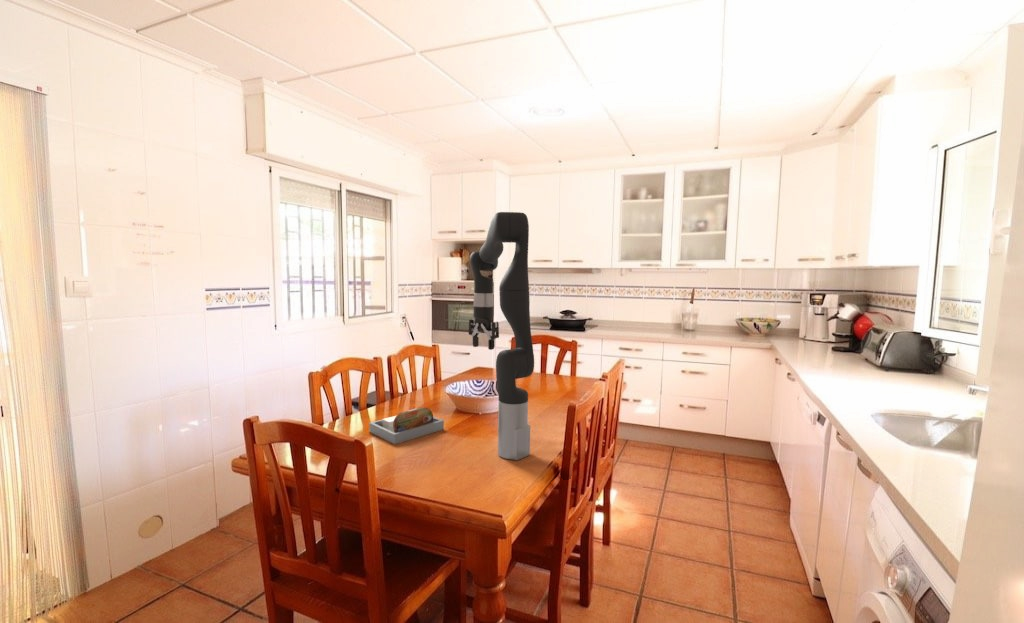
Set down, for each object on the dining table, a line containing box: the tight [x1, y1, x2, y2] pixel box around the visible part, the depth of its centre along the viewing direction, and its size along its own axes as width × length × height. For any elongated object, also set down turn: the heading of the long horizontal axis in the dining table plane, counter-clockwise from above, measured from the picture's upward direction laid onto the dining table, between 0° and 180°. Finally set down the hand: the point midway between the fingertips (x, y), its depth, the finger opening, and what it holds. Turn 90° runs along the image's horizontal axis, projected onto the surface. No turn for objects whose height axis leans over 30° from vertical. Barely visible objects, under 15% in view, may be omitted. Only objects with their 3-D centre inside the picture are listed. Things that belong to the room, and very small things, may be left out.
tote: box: [368, 416, 445, 445], centre depth 161 cm, size 16×20×4 cm
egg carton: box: [381, 415, 397, 432], centre depth 163 cm, size 4×12×4 cm, turn 136°
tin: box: [393, 407, 434, 433], centre depth 158 cm, size 15×3×8 cm, turn 136°
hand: (483, 348), depth 172 cm, fingers open, 8 cm apart
